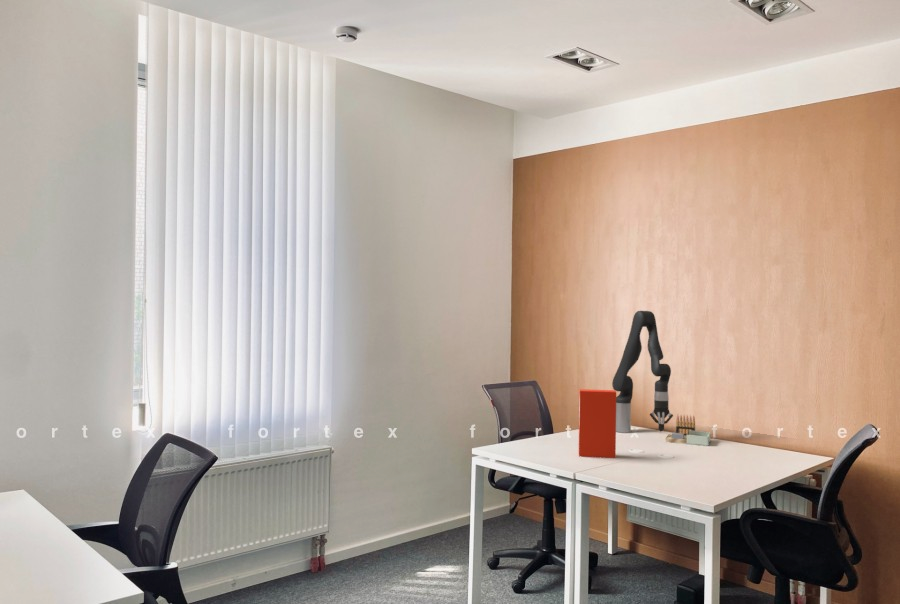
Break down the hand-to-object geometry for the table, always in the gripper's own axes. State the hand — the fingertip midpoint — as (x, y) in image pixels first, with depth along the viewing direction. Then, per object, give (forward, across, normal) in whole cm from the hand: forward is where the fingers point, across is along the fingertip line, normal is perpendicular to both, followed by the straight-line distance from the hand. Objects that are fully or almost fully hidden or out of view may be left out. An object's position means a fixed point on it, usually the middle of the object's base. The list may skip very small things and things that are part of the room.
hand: (661, 430), depth 369 cm
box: (+6, +19, +4) cm, 20 cm away
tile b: (+4, +9, 0) cm, 9 cm away
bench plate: (+5, +8, +4) cm, 10 cm away
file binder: (+6, -24, -58) cm, 63 cm away
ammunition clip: (+6, +11, +24) cm, 27 cm away
